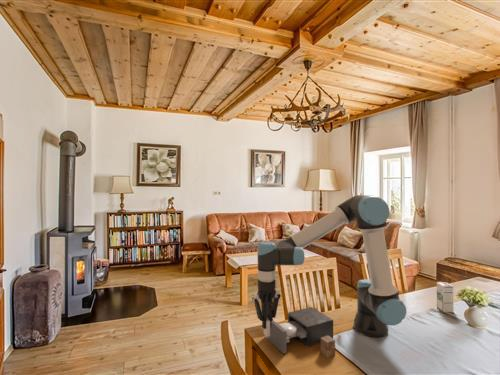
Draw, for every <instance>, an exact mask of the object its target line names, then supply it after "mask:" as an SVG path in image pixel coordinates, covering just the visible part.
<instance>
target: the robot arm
mask: <svg viewBox="0 0 500 375" xmlns="http://www.w3.org/2000/svg"><path fill="white" fill-rule="evenodd" d="M389 216H390V207H389V204H388V203H387V202H386V201H385V199H383V198H381V197H378V196H376V195H373V194H372V195H369V194H368V195H366V194H365V195H364V194H358V195H354V196H352V197H350V198H348V199H346V200H345V201H343V202H342V203H340V204H339V205H337V206H335V210H333V211H331V212H329V213H328V214H326V215H325V216H323V217H320V218H319V219H318V220H316V221H315V222H313V223H311V224H310V225H308V226H306V227H304V228H303V229H301V230H300V231H298V232H296V233H294V234H293V235H291V236H290V237H288V238H286V239H281V240H279V241H278V242H277V243H275V242H273V241H272V242H271V241H262V242H259V243H258V245H257V293H256V296H255V297H252V298H251V299H252V301H253V303H254V306H255V312H256V316H257V319H258V320H260V321H261V327H262V328H263V335H264V337H265V336H266V337H269V336H270V327H271V326H272V325H271V321H274V319H275V318H276V317H277V311H278V306H279V300H280V298H281V296H282V295H281V293H279V292H277V291H276V288H277V286H276V284H277V283H276V281H277V280H276V277H277V276H276V266H295V267H296V266H302V265H303V264H304V263H305V251H304V248H306V247H308V246H309V245H312V243H314V242H317V241H318V240H320V239H322V238H323V237H325V236H326V235H327V234H329V233H331V232H333V231H335V230H336V229H338V228H339V227H341V226H343V225H350V224H351V223H353V222H356V228H357V230H359V231H361V234H362V240H363V245H364V246H363V247H364V252H365V257H366V263H367V268H368V275H369V278H368V279H367V278H365V279H359V280H358V281H357V287H356V288H357V290H356V292H357V294H356V295H357V296H356V297H357V300H356V301H357V311H356V313H355V317H354V319H353V328H354V330H355V331H357V333H359V334H361V335H363V336H368V337H372V338H383V337H386V336H387V335H388V334H389V326H391V327H393V326H397V325H399V324H401V323H402V321H403V320H405V318H406V316H407V307H406V305H405V303H404V302H403V301H402V300H400V295H399V290H398V287H396V286H395V285H394V283H393V277H392V272H391V267H390V266H391V265H390V260H389V256H388V254H389V253H388V249H387V243H386V242H387V241H386V235H385V229H386V227H387V226H388V225H387V221H388V218H389ZM260 303H261V304H260ZM266 337H265V338H266Z"/></svg>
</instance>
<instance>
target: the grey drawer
mask: <svg viewBox="0 0 500 375" xmlns="http://www.w3.org/2000/svg"><path fill="white" fill-rule="evenodd" d="M287 323H291V324H293V325H295V326H296V328H297V333H296V335H294V336H291V337H287V331H286V330H284V329H283V328H282V327H281V326H280V324H279V323H277V322H276V321H275V320H273V321H271V325H272V326H271V327H270V336H269V337H266V336H265V335H264V337H265V338H267V340H268V341H269V342H270V343H271V344H272V345H273V346H275V348H276V349H278V350H279V351H280V352H281V353H282V354H286V353H287V348H288V347H287V343H290V339H292V338H297V337H296V336H299V337H300V338H305V337H307V329H306V328H304V327H303V326H301V325H300V324H299V323H297V322H296V321H295V320H293V321H290V322H288V321H287Z"/></svg>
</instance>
